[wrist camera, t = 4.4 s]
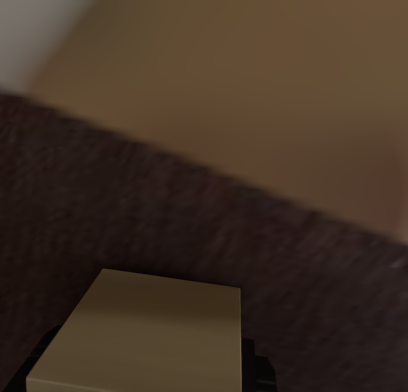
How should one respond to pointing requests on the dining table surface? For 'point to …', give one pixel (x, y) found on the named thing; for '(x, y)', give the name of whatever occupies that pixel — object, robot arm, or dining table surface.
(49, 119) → the dining table surface
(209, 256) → the dining table surface
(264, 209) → the dining table surface
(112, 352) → the block
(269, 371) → the robot arm
